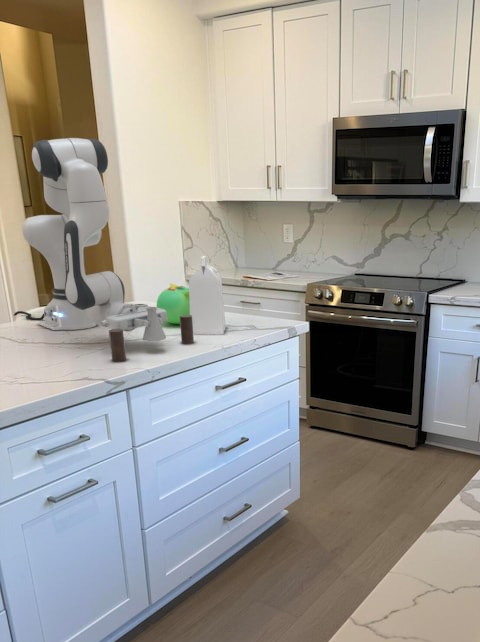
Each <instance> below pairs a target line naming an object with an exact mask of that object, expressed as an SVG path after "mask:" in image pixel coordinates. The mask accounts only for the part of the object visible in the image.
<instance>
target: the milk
mask: <svg viewBox="0 0 480 642" xmlns="http://www.w3.org/2000/svg"><path fill="white" fill-rule="evenodd" d="M200 264H201V265H200V267H199V268H198V269H197V270H196V272H195V273H194V274H193V275H192V276H191V277H190V278H189V279H188V288H189V303H190V315H191V316H192V322H193V335H224V333H225V330H226V317H225V316H226V315H225V303H224V293H223V280H222V279H223V278H222V276H221V275H220V273H218V272H219V271H218V270H217V269H216V268H215V266H212V265H210V264H209V263H208V256H207V255H202V256H200Z"/></svg>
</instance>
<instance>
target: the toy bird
mask: <svg viewBox="0 0 480 642" xmlns="http://www.w3.org/2000/svg"><path fill="white" fill-rule="evenodd" d="M169 286H170V287H167V288H165V289H164V290H163V291H162V292H160V294H159V295H158V297H157V300H156V307H157V308H160V309H164V310H166V312H167V321H166V322H167V323H170V324H172V325H173V324H174V325H180V316H181V315H190V303H189V287H186V286H183V285H180V286H179V285H177V284H174V283H169Z"/></svg>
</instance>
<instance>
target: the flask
mask: <svg viewBox="0 0 480 642" xmlns="http://www.w3.org/2000/svg"><path fill="white" fill-rule="evenodd" d="M156 309H157V306H148V307H147V308H146V310H147V313H148V317H147V320H150V326H147V327H144V331H143V336H142V341H147V342H161V341H164V340H166V339H167V336H166V333H165V332H164V329H163V328H162V325H161V324H160V323H159V321H158V317H157V313H156Z"/></svg>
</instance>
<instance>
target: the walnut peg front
mask: <svg viewBox="0 0 480 642" xmlns="http://www.w3.org/2000/svg"><path fill="white" fill-rule="evenodd" d="M108 337H109V346H110V353H111V361H112V362H114V363H115V362H116V363H121V362H126V361H127V354H126V344H125V335H124V331H123V330H122V329H109V330H108Z"/></svg>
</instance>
